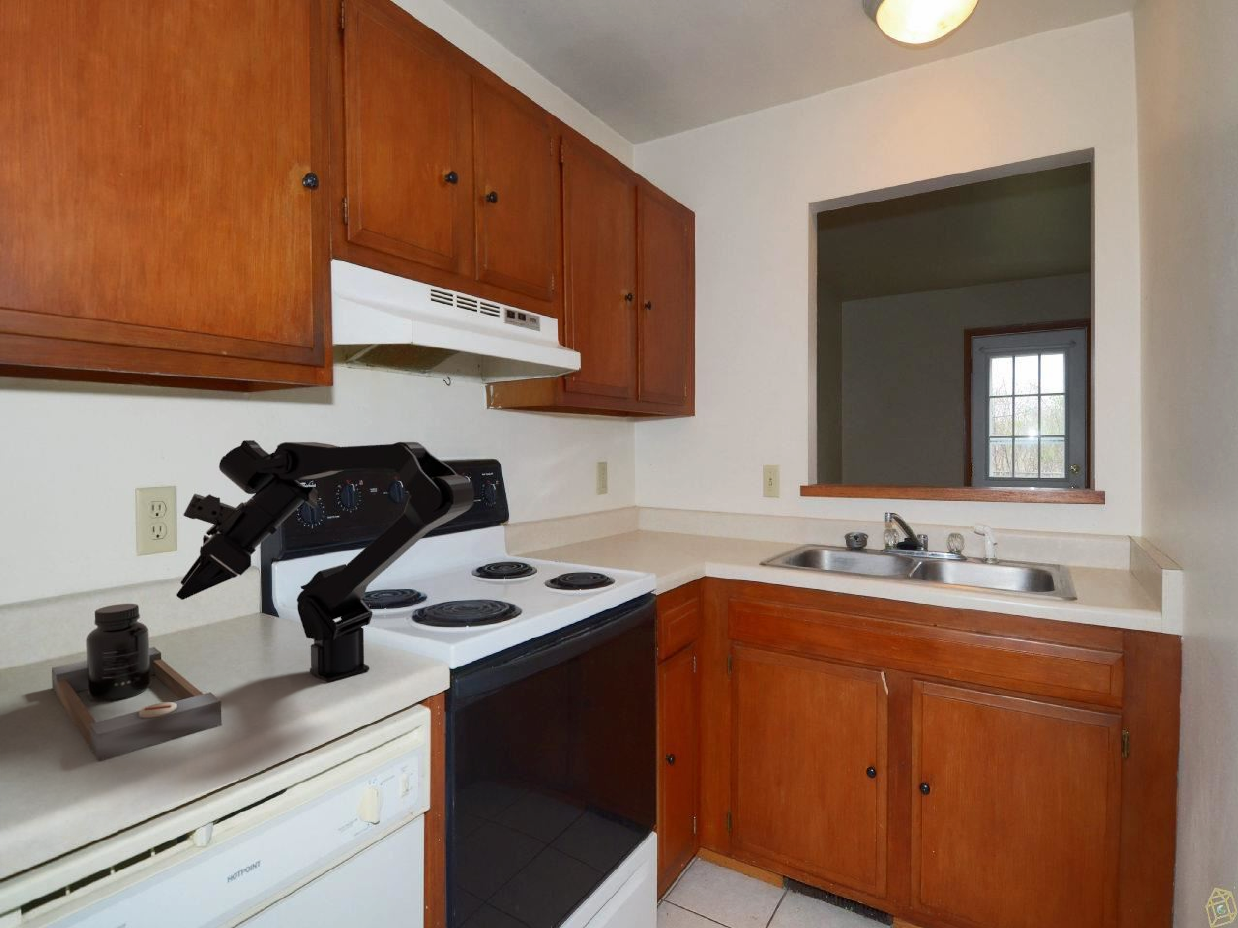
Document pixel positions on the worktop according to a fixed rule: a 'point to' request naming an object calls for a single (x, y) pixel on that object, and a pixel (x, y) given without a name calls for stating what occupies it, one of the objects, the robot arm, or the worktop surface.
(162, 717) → the wooden frame
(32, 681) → the worktop surface
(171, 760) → the worktop surface
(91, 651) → the supplement bottle
